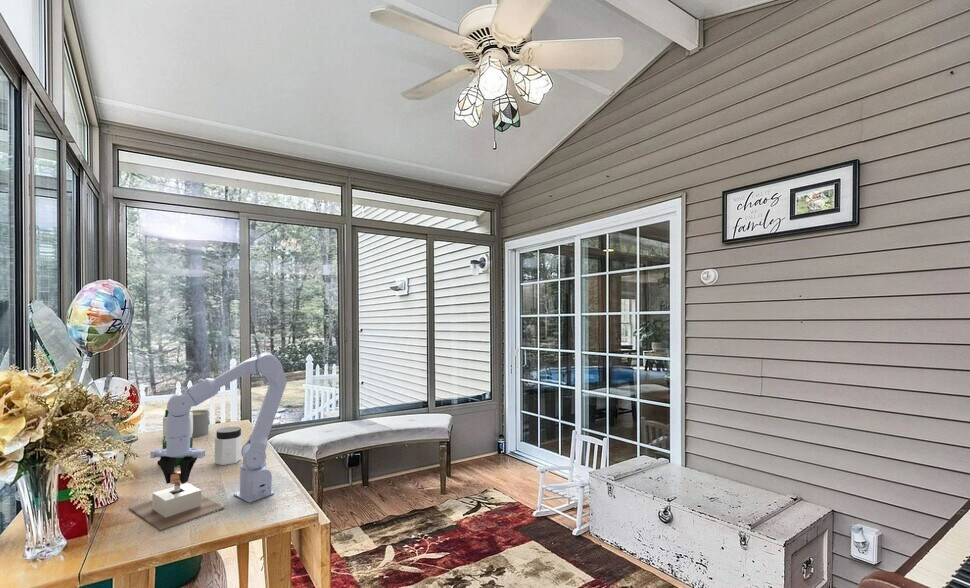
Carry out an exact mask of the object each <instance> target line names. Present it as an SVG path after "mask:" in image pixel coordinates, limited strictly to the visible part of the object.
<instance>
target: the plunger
mask: <svg viewBox="0 0 970 588" xmlns="http://www.w3.org/2000/svg"><path fill="white" fill-rule="evenodd" d="M169 484H171V485H173V484H174V486H173V487H174V494H177V493H180V485H181V470H180V469H178V470H174V471H173V472H171V473H170V483H169Z"/></svg>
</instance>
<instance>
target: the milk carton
mask: <svg viewBox="0 0 970 588" xmlns="http://www.w3.org/2000/svg"><path fill="white" fill-rule="evenodd" d="M164 412H165V413H164V414H165V415H164V416H163V418H162V449H166V443H167V421H168V413H169V412H168V410H167V409H165V410H164ZM190 418H191V426H190V448H193V445H194V444H193V440H194V437H193V412H190ZM182 459H184V458H183V457H177V459H176V463H175V467H180V465H179V461H180V460H182Z"/></svg>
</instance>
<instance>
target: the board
mask: <svg viewBox="0 0 970 588" xmlns="http://www.w3.org/2000/svg"><path fill="white" fill-rule="evenodd" d="M128 509H129V510H130V511H131V512H132V513H134V514H135V515H137V516H138V517H140V518H141V519H143V520H144V521H146V523H148V524H149V525H151V526H152V527H154V528H155V529H156V530H158V531H159V532H163V531H165V530H168V529H171V528H174V527H177V526H179V525H182V524H185V523H189V522H190V520H191V521H193V519H194V520H196V519H199V518H201V516H202V517H204V515H205V516H207V514H208V515H210V514H213V513H215V512H214V511H216V512H218V511H217V510H219V511H221V509H222V510H224V509H225V507H224V506H223V505H222V504H219V503H217V502H216V501H213V500H212V499H209V497H206V496H204V495H202V494H201V506H199V507H196V508H193V509H190V510H187V511H184V512H181V513H178V514H175V515H172V516H169V517H166V518H165V517H164V516H162V515H161V514H159V513H158V512H156V511H155V510H153V509H152V500H149V501H145V502H142V503H139V504H135V505H133V506H129V507H128ZM212 512H213V513H212ZM209 513H210V514H209Z"/></svg>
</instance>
